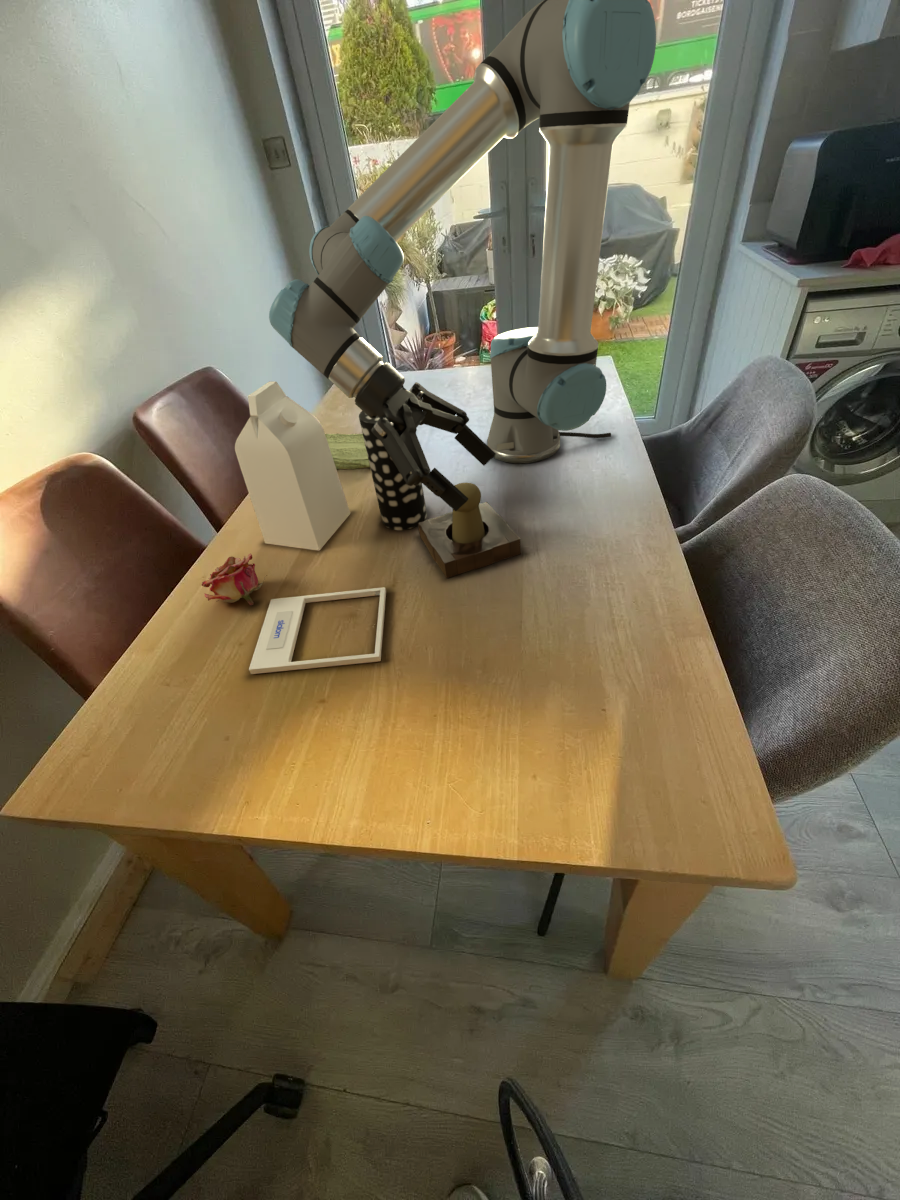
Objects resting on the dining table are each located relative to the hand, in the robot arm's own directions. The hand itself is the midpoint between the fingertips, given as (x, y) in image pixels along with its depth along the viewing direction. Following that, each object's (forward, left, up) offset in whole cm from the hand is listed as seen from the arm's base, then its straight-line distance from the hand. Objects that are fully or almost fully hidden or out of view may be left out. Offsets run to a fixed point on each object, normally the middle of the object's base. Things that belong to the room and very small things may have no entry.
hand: (476, 481), depth 84 cm
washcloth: (+13, -47, -12) cm, 50 cm away
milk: (+26, -22, -12) cm, 36 cm away
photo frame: (+29, +7, -12) cm, 32 cm away
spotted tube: (+9, -16, -12) cm, 22 cm away
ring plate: (+2, -2, -12) cm, 12 cm away
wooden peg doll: (+2, -2, -12) cm, 13 cm away
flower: (+40, -7, -12) cm, 42 cm away
